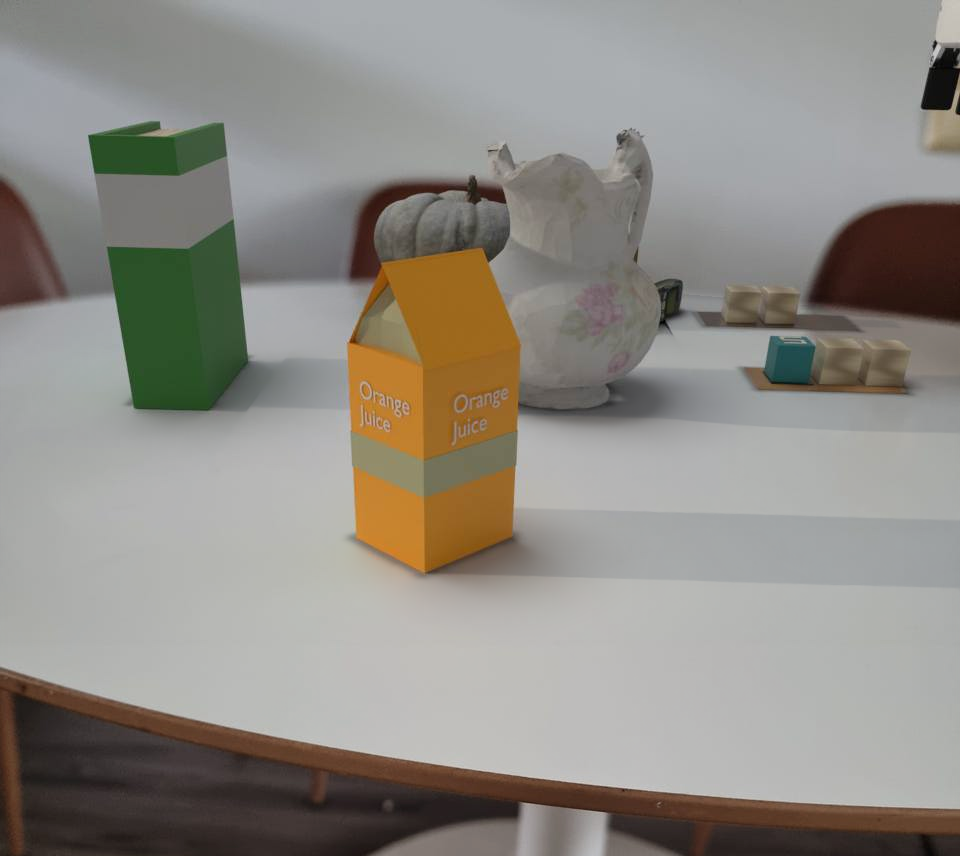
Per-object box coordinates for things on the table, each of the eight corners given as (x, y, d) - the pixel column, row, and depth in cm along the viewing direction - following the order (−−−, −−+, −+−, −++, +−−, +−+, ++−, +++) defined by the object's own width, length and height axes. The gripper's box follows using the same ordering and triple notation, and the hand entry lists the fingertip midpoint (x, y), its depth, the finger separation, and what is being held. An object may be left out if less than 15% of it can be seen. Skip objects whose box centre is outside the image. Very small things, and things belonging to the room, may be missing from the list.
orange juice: (354, 542, 71) (340, 253, 61) (443, 510, 77) (444, 239, 66) (425, 580, 67) (423, 273, 56) (515, 542, 72) (528, 256, 62)
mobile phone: (646, 296, 122) (691, 274, 133) (624, 292, 124) (671, 271, 134) (642, 336, 125) (687, 311, 136) (621, 332, 126) (667, 308, 137)
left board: (841, 320, 134) (848, 285, 132) (859, 334, 127) (867, 298, 125) (695, 316, 134) (700, 281, 132) (705, 330, 127) (710, 294, 125)
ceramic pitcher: (535, 366, 115) (531, 129, 103) (693, 381, 106) (708, 123, 94) (436, 416, 100) (416, 143, 87) (611, 439, 90) (616, 138, 78)
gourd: (355, 304, 124) (367, 154, 117) (380, 296, 147) (391, 170, 140) (549, 332, 124) (572, 184, 118) (544, 319, 147) (562, 195, 141)
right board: (883, 376, 111) (892, 335, 109) (907, 398, 104) (918, 355, 102) (742, 372, 111) (749, 331, 109) (757, 393, 104) (765, 350, 102)
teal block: (799, 372, 109) (806, 335, 107) (808, 383, 106) (816, 345, 104) (763, 371, 109) (770, 334, 107) (771, 382, 106) (778, 344, 104)
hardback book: (183, 358, 111) (150, 121, 99) (248, 360, 111) (223, 122, 99) (134, 408, 96) (87, 135, 84) (208, 410, 96) (174, 137, 83)
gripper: (1086, -101, 86) (1025, 118, 95) (1002, -79, 101) (956, 108, 110) (1000, -103, 86) (948, 116, 95) (929, -81, 101) (889, 107, 110)
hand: (952, 112), depth 102 cm, fingers open, 9 cm apart
